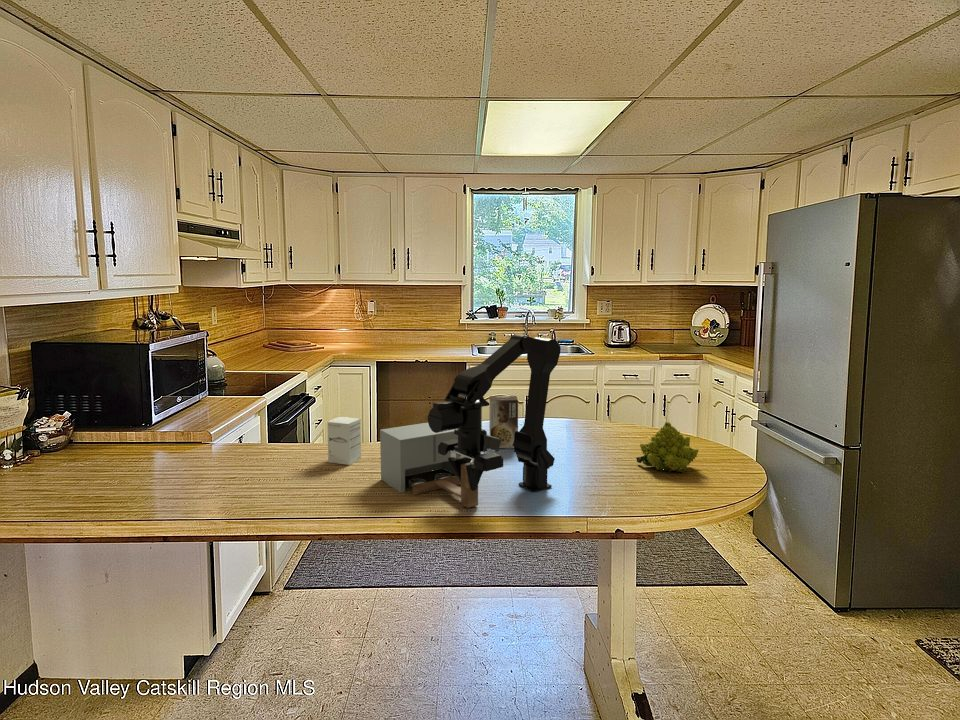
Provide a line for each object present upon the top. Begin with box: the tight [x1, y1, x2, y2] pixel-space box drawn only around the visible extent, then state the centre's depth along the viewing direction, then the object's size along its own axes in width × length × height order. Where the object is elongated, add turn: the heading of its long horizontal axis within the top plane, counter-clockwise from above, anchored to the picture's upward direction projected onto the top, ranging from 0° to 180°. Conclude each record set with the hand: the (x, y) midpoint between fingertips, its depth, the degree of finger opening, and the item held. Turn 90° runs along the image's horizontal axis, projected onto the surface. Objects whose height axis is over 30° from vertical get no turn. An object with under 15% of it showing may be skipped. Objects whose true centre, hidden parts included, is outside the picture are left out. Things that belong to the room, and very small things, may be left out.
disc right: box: [434, 472, 452, 480], centre depth 168 cm, size 4×4×2 cm
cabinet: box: [379, 422, 458, 494], centre depth 168 cm, size 12×20×14 cm, turn 124°
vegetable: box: [635, 421, 699, 474], centre depth 178 cm, size 15×16×15 cm
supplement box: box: [327, 416, 362, 466], centre depth 183 cm, size 7×7×13 cm
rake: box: [412, 461, 479, 509], centre depth 155 cm, size 16×15×10 cm
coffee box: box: [488, 395, 519, 449], centre depth 200 cm, size 9×6×16 cm
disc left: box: [408, 477, 426, 489], centre depth 164 cm, size 4×4×2 cm
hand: (469, 488), depth 149 cm, fingers closed on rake, 3 cm apart
